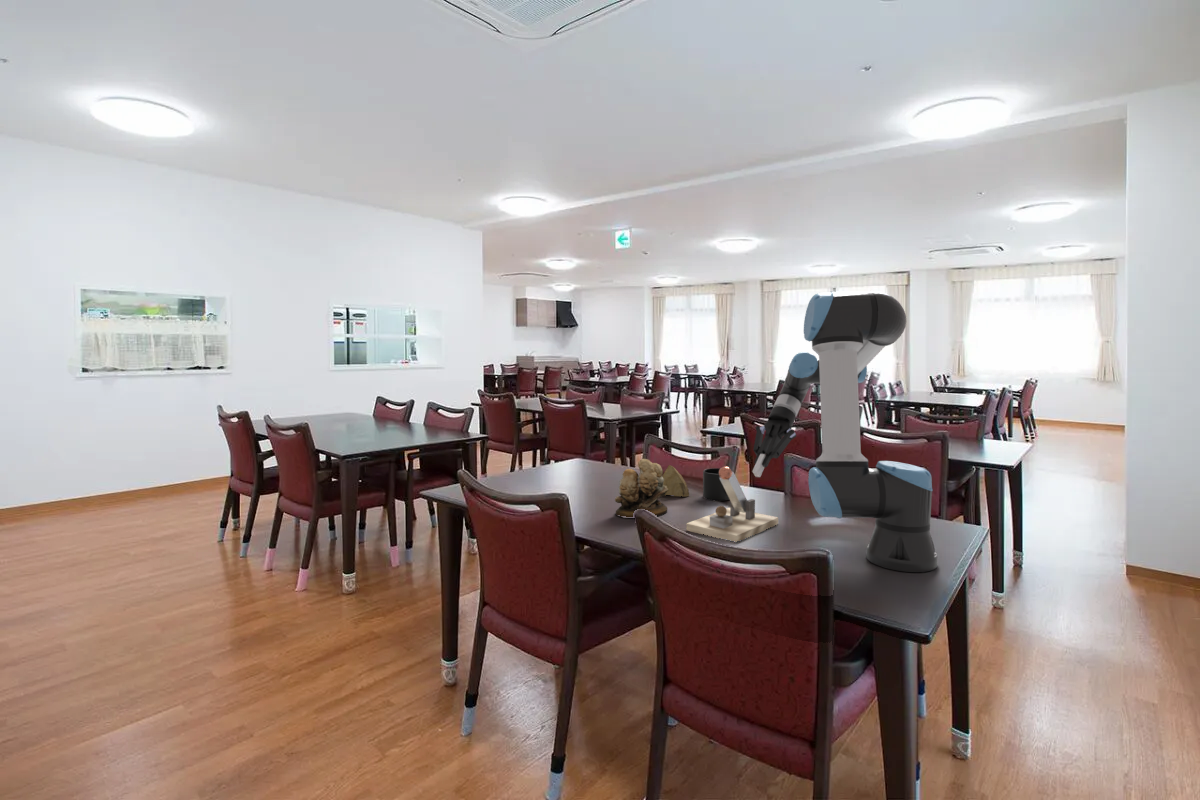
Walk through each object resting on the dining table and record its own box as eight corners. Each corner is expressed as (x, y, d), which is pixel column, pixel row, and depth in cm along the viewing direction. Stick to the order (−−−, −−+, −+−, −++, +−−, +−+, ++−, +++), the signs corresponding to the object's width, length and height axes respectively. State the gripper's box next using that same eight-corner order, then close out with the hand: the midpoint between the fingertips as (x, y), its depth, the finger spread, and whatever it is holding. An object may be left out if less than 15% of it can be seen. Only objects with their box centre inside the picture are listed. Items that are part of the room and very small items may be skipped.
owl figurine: (656, 504, 200) (656, 452, 198) (677, 513, 189) (678, 458, 188) (607, 512, 191) (607, 458, 189) (627, 522, 181) (628, 464, 179)
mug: (719, 504, 198) (719, 476, 198) (697, 496, 209) (697, 470, 208) (742, 500, 203) (743, 473, 202) (719, 492, 213) (719, 467, 213)
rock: (698, 489, 209) (681, 479, 218) (687, 471, 205) (670, 462, 214) (675, 511, 207) (659, 500, 215) (663, 493, 203) (647, 483, 211)
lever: (739, 502, 180) (720, 462, 171) (750, 504, 177) (731, 464, 168) (734, 511, 178) (714, 472, 169) (745, 514, 175) (725, 474, 167)
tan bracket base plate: (729, 513, 188) (730, 489, 187) (778, 524, 176) (778, 498, 176) (686, 530, 172) (686, 504, 171) (736, 543, 161) (736, 515, 160)
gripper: (807, 421, 190) (780, 485, 179) (769, 418, 199) (741, 478, 188) (800, 406, 185) (771, 470, 175) (761, 403, 194) (732, 463, 184)
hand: (756, 474), depth 182 cm, fingers closed
